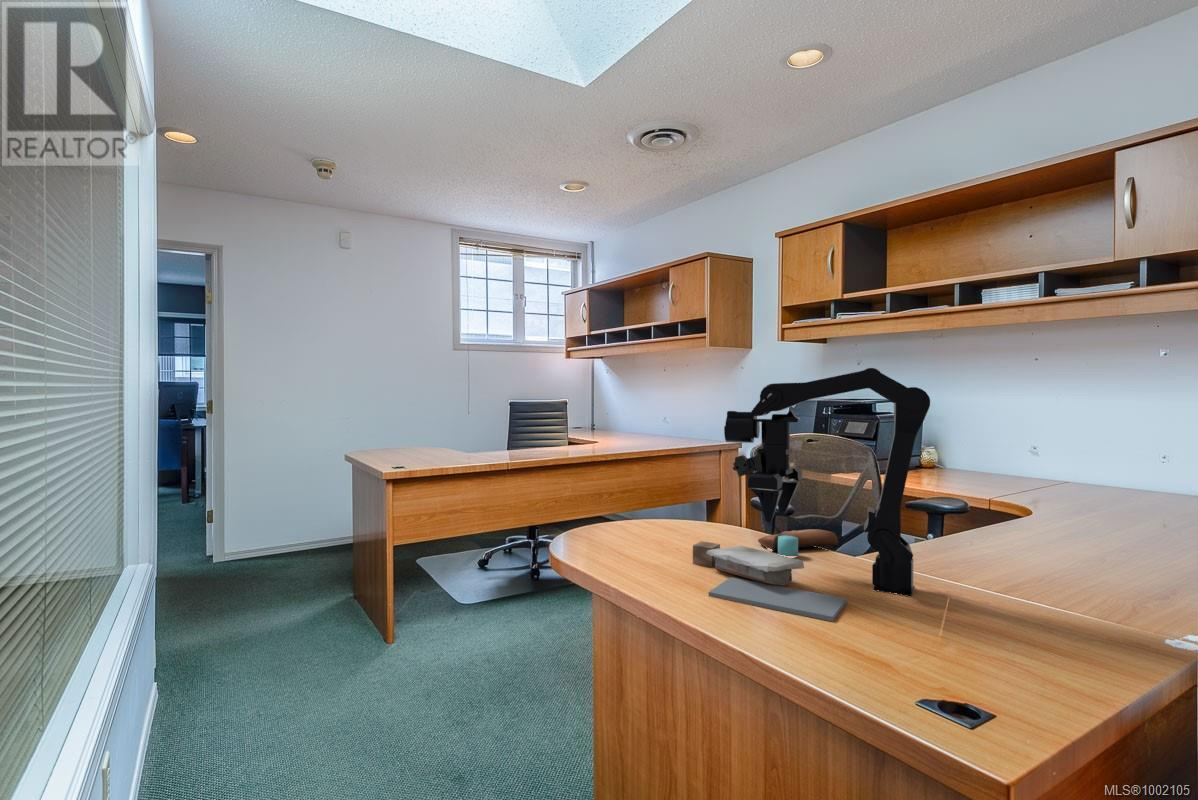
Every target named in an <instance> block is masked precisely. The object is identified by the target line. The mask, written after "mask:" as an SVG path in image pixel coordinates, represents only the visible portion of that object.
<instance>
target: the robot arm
mask: <svg viewBox="0 0 1198 800" xmlns="http://www.w3.org/2000/svg"><path fill="white" fill-rule="evenodd" d="M866 389H869V390H871V391H873V392H875V393H876V394H878V395H879V396H882V397H883V398H884V399H886V400H888V401H890V402H891V403H893V436H892V441H891V446H890V450H889V455H888V459H887V465H886V468H885V472H884V473H885V474H884V479H883V483H882V489H881V493H880V497H879V500H878V502H877V505H876V506H875V508H874V507H871V506H868V507H867V519H866V521H865V523H864V524H863V531H864V533H866V536H867V537H866V538H867V543H868V544H869V545H870V547H871V548H872V549H873V550H875V551H876V552H878V554H877V555H876V556H875V561H874V562H873V564H872V577H871V579H872V583H871V584H872V585H873V591H874V590H879V591H884V592H883V593H885V592H891V593H897V594H902V595H908V596H911V595H912V596H913V594H912V593H914V592H915V588H916V587H915V585H914V553H913V551H912V548H911V545H910V543H909V542H907V540H906V539H904V538H903V537H902V535H901V533H902V532H901V530H902V528H901V527H902V526H901V525H902V523H901V522H902V521H901V520H902V519H901V517H902V516H901V507H902V501H903V497H904V492H905V487H906V484H907V478H908V474H909V469H910V465H911V459H912V455H913V450H914V446H915V443H916V442H915V441H916V437H917V435H918V432H919V431H920V429H921V427H922V425H923V423H924V421H925V418H926V416H927V414H928V412H929V409H930V406H931V399H930V396H929V395H928V393H927V392H926V391H925V390H924V389H923V388H919V387H915V386H914V387H911V386H910V387H909V386H908V387H907V386H905V385H904V384H902V383H900V382H898V381H897V380H896V379H893V378H892V377H890V376H887V375H886V374H884V373H882V372H881V371H880V370H879V369H877V368H876V367H875V368H874V367H869V368H865V369H864V370H860V371H854V372H849V373H844V374H841V375H836V376H829V377H825V378H821V379H817V380H811V381H806V382H782V383H780V382H779V383H778V382H776V383H769V384H766V385H765V386H764V387H763V388H762V390H761V391H760V393H759V400H758V402H757V403H756V405H755V406H754V407H753V408H752V410H751V411H738V410H737V411H736V410H728V411H726V419H725V423H724V424H725V425H724V429H723V432H724V440H725V442H726V443H745V444H746V443H747V444H748V443H749V444H754V443H755V442H754V441H755V439H759V437H760V433H761V445H760V447H761V448H758V449H757V450H756V455H754V456H751V457H747V456H746V455H745V454H742V455H739V456H735V457H734V462H733V463H732V464H733V466H732V470H733V471H736V475H737V477H739V478H740V477H743V476H746V475H748V476H747V477H746V488H749V491H750V492H753V493H754V495H756V496H757V498H758V500H759V502H760V506H761V509H762V514H763V516H764V520H765V522H766V523H772V521H773V519H774V516H775V513H776V510H777V508H778V514H779V515H782V516H785V515H786V513H787V511H788V509H789V506H790V504H791V503H792V499H793V498H794V495H795V493H796V492H797V490H798V487H799V485H800V484H801V481H802V480H803V470H801V468H800V467H799V466H794V465H793V466H791V454H793V452H794V450H793V449H794V448H793V447H792V448H791V447H790V446H791V423H799V422H800V418H799V417H798V416H797V415H796V414H795V413H794V412H793V410H789V411H788V412H787V413H773V414H772V415H771V418H758V417H760V416H767V415H768V414H770V413H771V412H780V411H784V410H786V409H789V408H792V407H794V406H797V405H799V404H802V403H805V402H807V401H811V400H813V399H815V400H816V399H820V398H824V397H830V396H835V395H839V394H840V395H841V394H846V393H850V392H851V393H852V392H855V391H860V390H861V391H862V390H866ZM760 422H761V425H760ZM760 426H761V432H760ZM795 480H796V481H795ZM879 591H878V592H879ZM913 591H914V592H913ZM902 595H901V596H902ZM908 596H907V597H908ZM912 596H911V597H912Z"/></svg>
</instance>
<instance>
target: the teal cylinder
mask: <svg viewBox="0 0 1198 800" xmlns="http://www.w3.org/2000/svg"><path fill="white" fill-rule="evenodd" d="M778 554H780V555H785V556H798V557H799V547H798V538H797V537H794V536H778V551H777V555H778Z"/></svg>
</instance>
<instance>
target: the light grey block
mask: <svg viewBox="0 0 1198 800" xmlns="http://www.w3.org/2000/svg"><path fill="white" fill-rule="evenodd" d="M706 554H707V555H711V556H714V560H715V563H716V564H715V569H716V570H719V571H721V572H724V573H729V574H731V575H736V576H738V577H742V578H745V579H750V580H751V581H755V582H760V583H765V584H771V585H776V586H782V587H784V586H787V585H788V584H789V583H792V581H793V576H792V575H793V573H792V570H796V569H797V570H801V569H804V568H805V564H804V560H801V559H798V558H788V557H784V556H780V555H778V553H777V554H776V553H774V552H771V551H768V550H762V549H757V548H754V547H747V546H743V545H736V546H728V547H722V548H721V547H720V549H712V550H707V552H706Z"/></svg>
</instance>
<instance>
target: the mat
mask: <svg viewBox="0 0 1198 800" xmlns="http://www.w3.org/2000/svg"><path fill="white" fill-rule="evenodd" d="M708 597H713V598H716V599H723V600H727V601H730V602H735V603H740V604H744V605H750V606H754V607H759V608H764V609H770V610H774V611H780V612H784V613H789V614H793V615H798V616H804V617H808V618H809V617H810V618H813V619H818V620H823V621H828V622H834V621H835V619H836V618H837V617H838V616H839V614H840V613H839V612H842V610H841V609H844V607H845V606H846V604H847V602H848V598H847V597H842V596H835V595H831V594H825V593H820V592H813V591H809V590H803V589H798V588H792V587H788V586H782V585H772V584H767V583H763V582H759V581H755V580H748V579H743V578H737V577H732V576H730V577H729V578H727V579H725V580H724V581H723V582H722V583H720V584H718V585H717V586H715V587H714V588H712V589H710V591H708ZM844 605H845V606H844Z"/></svg>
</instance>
